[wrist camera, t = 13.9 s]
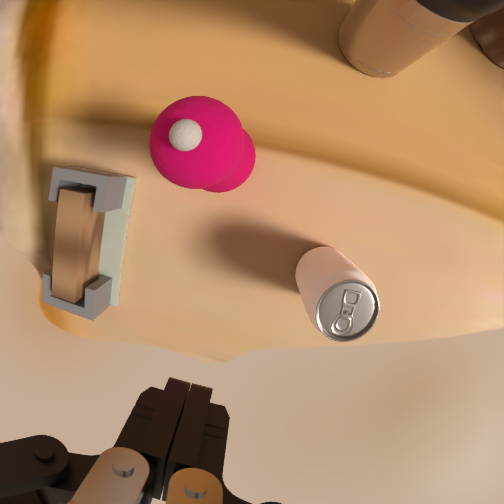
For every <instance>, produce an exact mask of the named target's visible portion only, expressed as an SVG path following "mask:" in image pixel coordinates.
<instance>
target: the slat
mask: <svg viewBox="0 0 504 504" xmlns="http://www.w3.org/2000/svg"><path fill="white" fill-rule="evenodd" d="M95 195H96V189H95V188H90V187H77V188H65V189H60V193H59V200H58V208H57V217H56V227H55V238H54V252H53V272H52V295H53V296H55V297H58V298H61V299H64V300H66V301H69V302H72V303H75V302H77V301H78V300H79V299H81V298H82V297H84V296H85V288H86V287H87V286H89V285H90V284H92V283H93V282H95V281H96V280H98V272H99V261H100V252H101V243H102V235H103V227H104V220H105V213H106V212H103V213H102V212H98V211H94V210H93V208H94V201H95Z"/></svg>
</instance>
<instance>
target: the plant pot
mask: <svg viewBox="0 0 504 504" xmlns="http://www.w3.org/2000/svg"><path fill="white" fill-rule="evenodd" d="M469 26H470V29H471V32H472V34H473V36H474V39H475V40H477V41H478V42H479V43H480V45H481V47H482V51H483V52H484V53H485V54H486V55H487V56H488V58H489V59H490V60H492V61H493V62H494V63H495V64H496V65H498V66H499V67H501V68H503V69H504V7H502V8H501V9H499V10H497V11H496V12H493V13H491V14H489V15H486V16H482V17H481V18H479V19H477V20H476V21H474V22H473V23H471V24H470V25H469Z"/></svg>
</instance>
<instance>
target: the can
mask: <svg viewBox="0 0 504 504" xmlns="http://www.w3.org/2000/svg"><path fill="white" fill-rule="evenodd" d="M295 278H296V283H297V286H298V289H299V292H300V294H301V297H302V300H303V303H304V305H305V308H306V311H307V313H308V316H309V318H310V320H311V322H312V324H313V325H314V327H315V328H316V329H317V330H318V331H319V332H321V333H322V334H324V335H325V336H326V337H328V338H329V339H331V340H334V341H339V342H348V341H353V340H356V339H358V338H360V337H362V336H363V335H365V334H366V333H367V332H368V331H369V330H370V329H371V328H372V327H373V325H374V324H375V322H376V320H377V318H378V315H379V308H380V305H379V299H378V296H377V291H376V288H375V286H374V284H373V283H372V281H371V280H370V279H369V278H368V277H367V276H366V275H365V274H364V273H363V272H362V271H361V270H360V269H359V268H358V267H357V266H355V265H354V264H353V263H352V262H351V261H350V260H349V259H348V258H346V257H345V256H344V255H343V254H342V253H340V252H339V251H338V250H336V249H334V248H331V247H317V248H314V249H312V250H310V251H308V252H307V253H305V254H304V255H303V256H302V258H301V259H300V260H299V262H298V264H297V267H296V272H295Z"/></svg>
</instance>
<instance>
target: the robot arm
mask: <svg viewBox="0 0 504 504" xmlns="http://www.w3.org/2000/svg"><path fill="white" fill-rule="evenodd" d="M502 7H504V0H355V2H354V4H353V5H352V7H351V9H350V11H349V12H348V14H347V16H346V18H345V19H344V21H343V23H342V25H341V27H340V29H339V32H338V43H339V46H340V49H341V51H342V53H343V55H344V57H345V58H346V59H347V60H348V62H349V63H350V64H352V65H353V66H354V67H355V68H356V69H358V70H359V71H361V72H363V73H365V74H367V75H370V76H373V77H380V78H386V77H391V76H394V75H396V74H398V73H399V72H400V71H402V70H403V69H405V68H406V67H408V66H409V65H411V64H412V63H414V62H415V61H416V60H418V59H419V58H421V57H422V56H424V55H425V54H427V53H428V52H429V51H431V50H432V49H434V48H435V47H437V46H438V45H440V44H441V43H443V42H444V41H446V40H447V39H449V38H450V37H452V36H453V35H455V34H456V33H458V32H459V31H460V30H462V29H464V28H465V27H467V26H468V25H470V24H471V23H473V22H474V21H476V20H477V19H479V18H481V17H482V16H486V15H489V14H491V13H493V12H496V11H497V10H499V9H501V8H502ZM189 389H190V391H189ZM212 390H213V389H212V388H208V387H205V386H201V385H197V384H193V383H192V385H191V388H190V383H189V382H185V381H181V380H178V379H174V378H171V377H170V378H169V379H168V382H167V384H166V387H165V389H164V390H161V389H158V388H154V387H150V388H148V389H147V390H146V391H144V392H143V393H141V394H140V396H139V398H138V400H137V402H136V405H135V406H134V408H133V410H132V412H131V414H130V416H129V418H128V420H127V421H126V423H125V425H124V427H123V429H122V431H121V433H120V435H119V437H118V439H117V441H116V443H115V445H114V446H113V447H112V448H110V449H107V450H106V451H104V452H103V453H102V454H100V455H93V456H89V455H81V454H75V453H69V452H68V451H67V449H66V447H65V446H64V445H63V444H62V443H61V442H60V441H59V440H57V439H55V438H53V437H50V436H47V435H36V436H31V437H27V438H23V439H18V440H14V441H9V442H4V443H0V504H151V501H152V498H156V499H159V500H160V498H161V494H162V491H163V497H162V500H163V501H166V504H251V503H249V502H247V501H244V500H242V499H240V498H238V497H236V496H235V495H233V494H232V493H231V492H230V491H229V490H228V489H227V488H226V486H225V485H224V482H223V478H222V473H223V465H224V458H225V450H226V442H227V441H226V440H227V434H228V427H229V419H230V417H229V415H228V413H227V410H226V408H225V406H222V405H217V404H213V403H210V398H211V394H212ZM163 487H164V490H163ZM261 504H281V503H277V502H265V503H261Z"/></svg>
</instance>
